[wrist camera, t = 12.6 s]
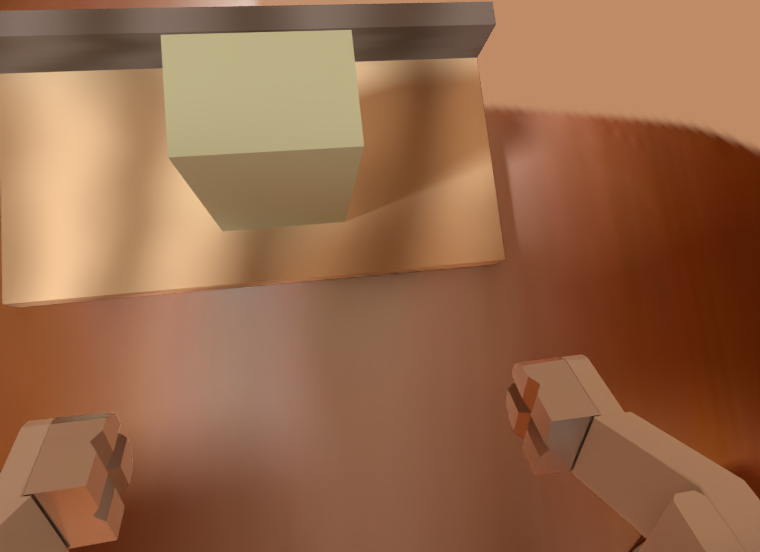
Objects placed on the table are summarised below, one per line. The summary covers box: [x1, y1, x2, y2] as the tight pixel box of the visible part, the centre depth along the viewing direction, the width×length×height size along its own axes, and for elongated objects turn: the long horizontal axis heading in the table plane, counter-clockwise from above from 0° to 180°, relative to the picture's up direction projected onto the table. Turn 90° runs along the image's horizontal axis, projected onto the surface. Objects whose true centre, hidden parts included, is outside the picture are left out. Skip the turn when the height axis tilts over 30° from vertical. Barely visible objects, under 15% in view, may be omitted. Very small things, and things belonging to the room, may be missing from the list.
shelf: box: [0, 2, 505, 307], centre depth 26 cm, size 24×13×4 cm, turn 96°
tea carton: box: [161, 30, 364, 231], centre depth 22 cm, size 4×6×10 cm
